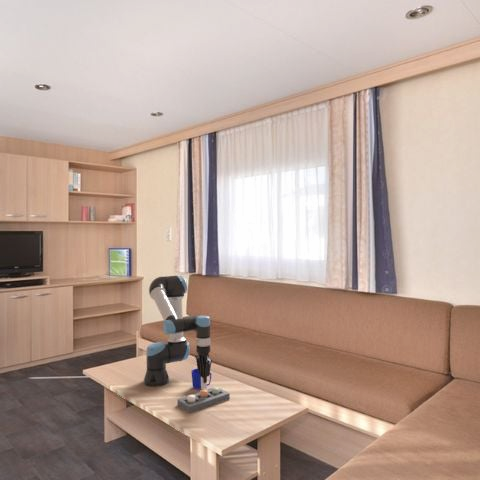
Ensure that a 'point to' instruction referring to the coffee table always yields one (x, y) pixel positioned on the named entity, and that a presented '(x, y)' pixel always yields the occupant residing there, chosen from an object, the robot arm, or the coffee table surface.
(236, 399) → the coffee table surface
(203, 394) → the button terracotta
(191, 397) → the button ivory
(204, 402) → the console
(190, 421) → the coffee table surface
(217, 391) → the button sage
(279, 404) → the coffee table surface
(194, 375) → the mug
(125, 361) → the coffee table surface
